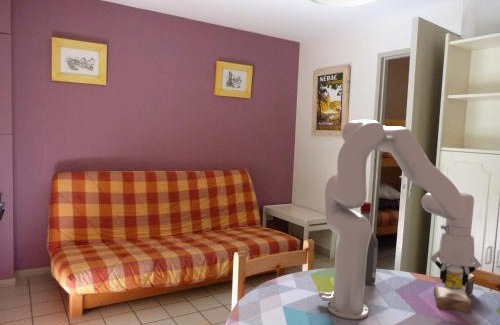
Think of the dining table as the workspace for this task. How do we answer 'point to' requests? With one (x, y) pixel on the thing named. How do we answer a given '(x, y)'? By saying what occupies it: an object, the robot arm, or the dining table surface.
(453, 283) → the supplement bottle
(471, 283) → the medicine bottle
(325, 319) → the dining table surface
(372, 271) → the liquor
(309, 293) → the dining table surface
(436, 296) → the coaster block
